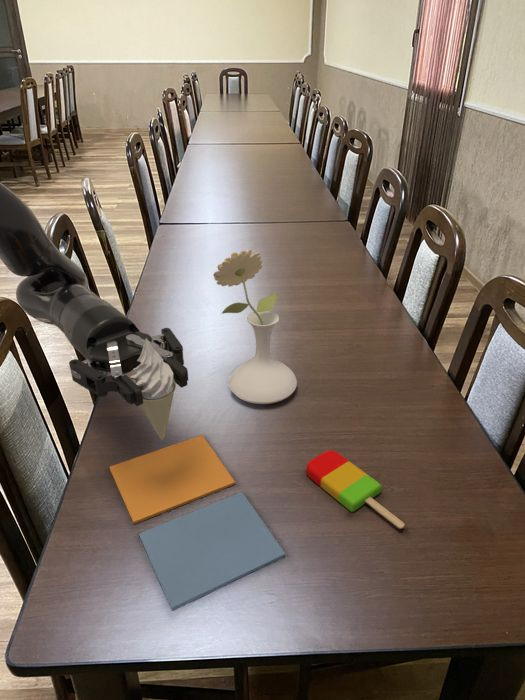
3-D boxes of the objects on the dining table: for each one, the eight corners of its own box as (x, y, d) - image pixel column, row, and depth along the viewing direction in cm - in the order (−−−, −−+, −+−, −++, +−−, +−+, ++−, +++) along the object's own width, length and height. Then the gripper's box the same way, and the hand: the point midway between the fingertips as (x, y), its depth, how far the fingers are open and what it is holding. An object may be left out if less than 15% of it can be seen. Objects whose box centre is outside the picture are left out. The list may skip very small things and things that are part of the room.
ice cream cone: (133, 446, 66) (114, 344, 58) (155, 421, 70) (139, 321, 62) (169, 457, 64) (154, 353, 56) (189, 430, 68) (178, 330, 60)
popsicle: (330, 456, 77) (331, 446, 76) (416, 521, 67) (418, 510, 66) (302, 473, 74) (302, 463, 73) (387, 544, 64) (389, 533, 63)
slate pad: (171, 610, 57) (171, 608, 56) (139, 536, 65) (138, 533, 65) (285, 556, 62) (285, 553, 62) (242, 494, 71) (242, 491, 70)
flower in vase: (290, 369, 96) (295, 234, 83) (302, 408, 86) (309, 262, 73) (217, 374, 95) (210, 237, 82) (221, 414, 85) (213, 266, 72)
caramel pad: (134, 524, 66) (133, 521, 66) (109, 469, 74) (109, 466, 74) (235, 484, 72) (235, 481, 72) (202, 437, 80) (202, 434, 80)
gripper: (39, 322, 66) (98, 385, 55) (143, 291, 74) (214, 340, 63) (51, 372, 70) (108, 441, 59) (149, 338, 78) (216, 392, 67)
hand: (162, 388), depth 61 cm, fingers closed on ice cream cone, 5 cm apart
